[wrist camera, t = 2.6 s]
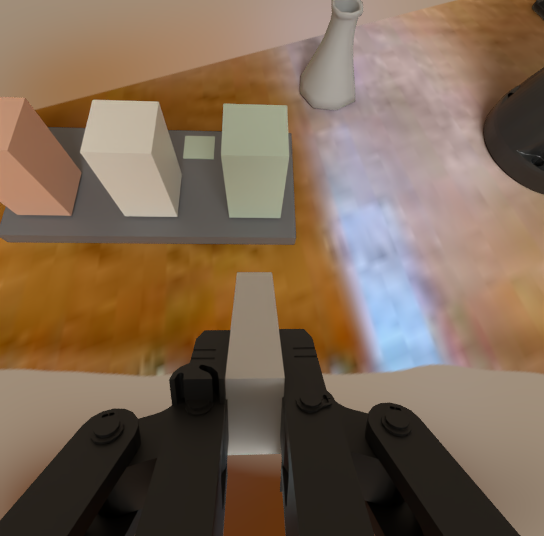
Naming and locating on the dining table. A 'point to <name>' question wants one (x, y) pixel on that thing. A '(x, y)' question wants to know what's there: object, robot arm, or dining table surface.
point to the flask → (333, 60)
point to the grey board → (172, 230)
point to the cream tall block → (133, 156)
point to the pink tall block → (33, 164)
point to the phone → (539, 8)
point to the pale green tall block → (255, 159)
